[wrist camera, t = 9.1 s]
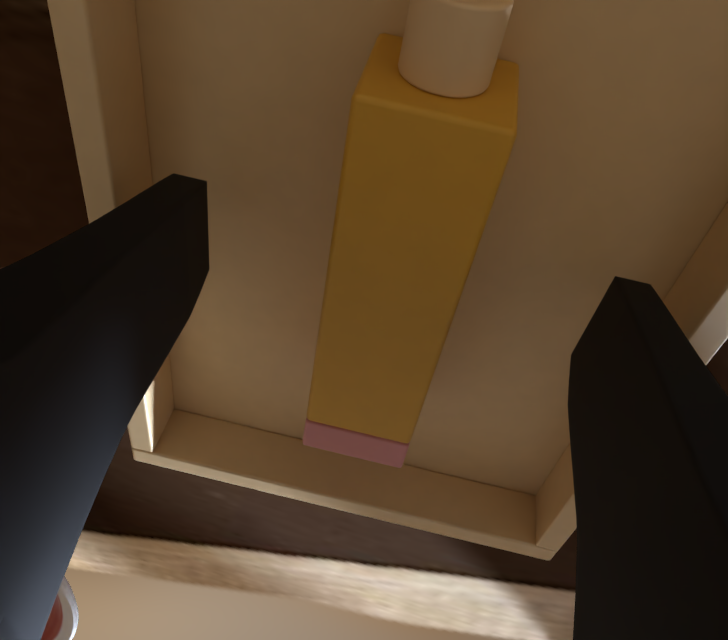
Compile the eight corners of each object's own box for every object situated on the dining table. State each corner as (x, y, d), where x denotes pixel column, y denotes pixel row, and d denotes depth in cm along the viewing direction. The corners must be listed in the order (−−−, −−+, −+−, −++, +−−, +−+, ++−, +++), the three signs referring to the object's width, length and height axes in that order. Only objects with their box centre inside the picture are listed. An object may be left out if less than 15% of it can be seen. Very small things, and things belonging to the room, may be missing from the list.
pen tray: (548, 494, 19) (550, 562, 17) (162, 401, 19) (132, 460, 17) (1072, -271, 7) (1208, -259, 6) (59, -482, 7) (-55, -521, 6)
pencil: (414, 391, 16) (401, 469, 14) (324, 369, 16) (301, 445, 14) (558, -55, 9) (564, 2, 7) (398, -90, 9) (370, -41, 7)
